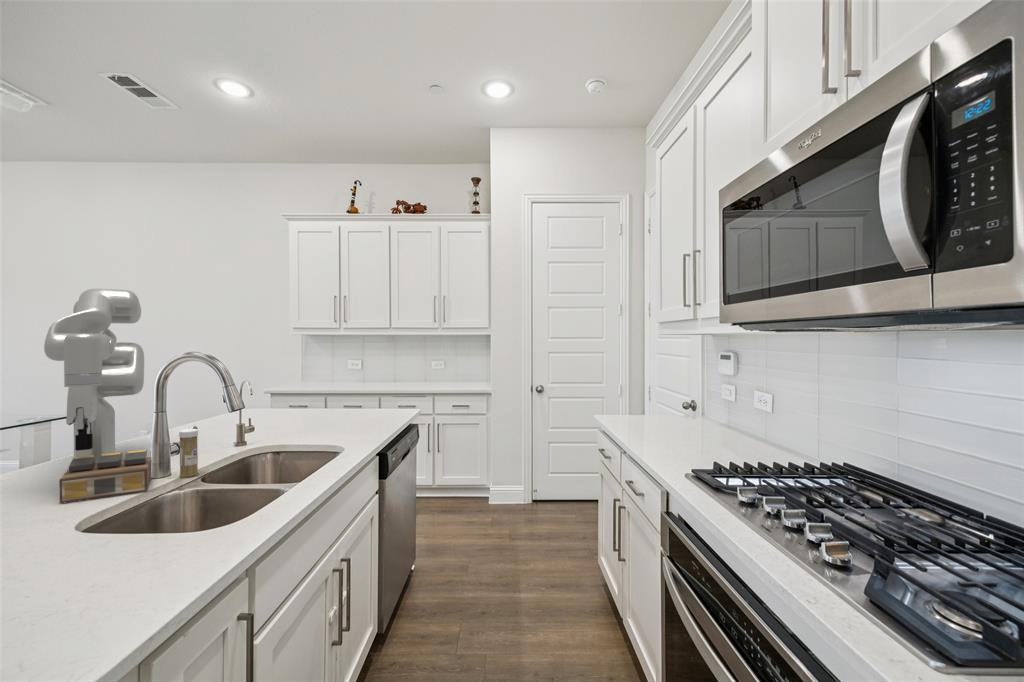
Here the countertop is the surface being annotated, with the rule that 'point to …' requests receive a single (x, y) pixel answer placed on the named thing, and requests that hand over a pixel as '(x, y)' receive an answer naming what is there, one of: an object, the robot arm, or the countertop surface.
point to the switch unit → (105, 481)
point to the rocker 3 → (135, 457)
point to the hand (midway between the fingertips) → (84, 449)
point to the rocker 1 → (82, 463)
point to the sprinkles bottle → (188, 452)
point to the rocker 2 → (109, 460)
